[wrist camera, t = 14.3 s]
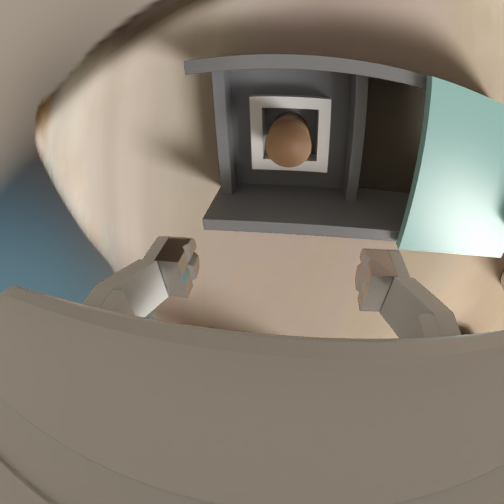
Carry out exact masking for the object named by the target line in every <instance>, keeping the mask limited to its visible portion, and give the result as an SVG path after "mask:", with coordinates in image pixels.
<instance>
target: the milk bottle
mask: <svg viewBox="0 0 504 504" xmlns="http://www.w3.org/2000/svg"><path fill="white" fill-rule="evenodd" d="M501 286H502V288H503V290H504V272H503V274H502V276H501Z"/></svg>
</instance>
